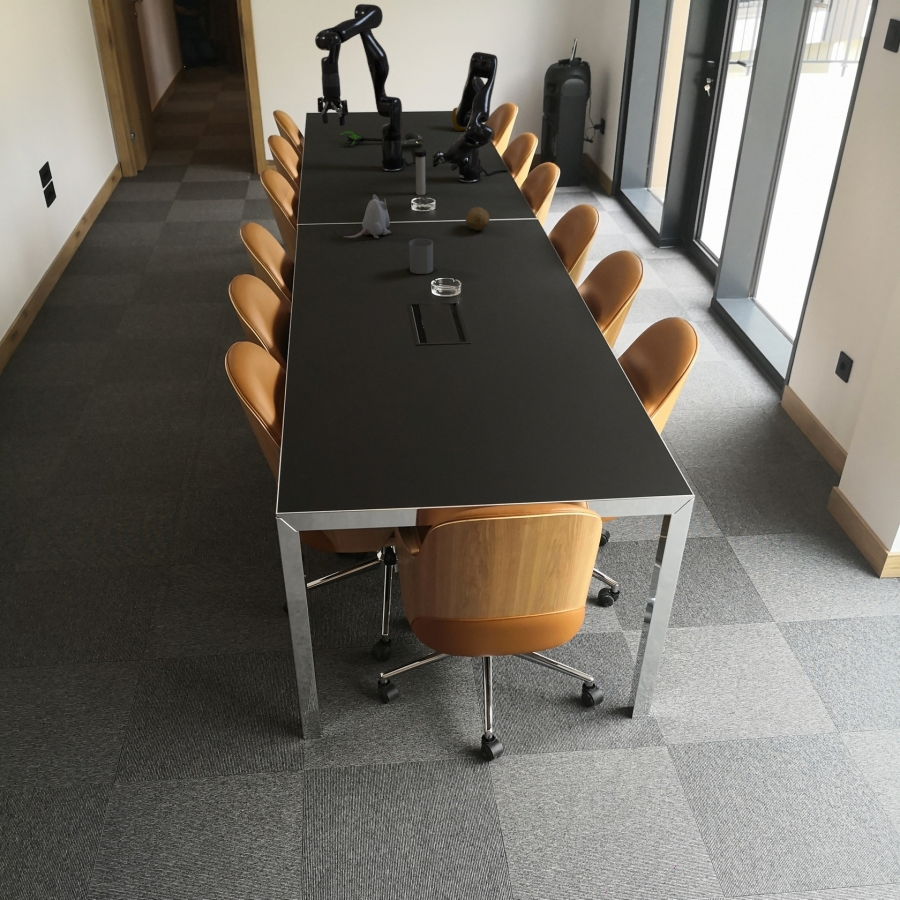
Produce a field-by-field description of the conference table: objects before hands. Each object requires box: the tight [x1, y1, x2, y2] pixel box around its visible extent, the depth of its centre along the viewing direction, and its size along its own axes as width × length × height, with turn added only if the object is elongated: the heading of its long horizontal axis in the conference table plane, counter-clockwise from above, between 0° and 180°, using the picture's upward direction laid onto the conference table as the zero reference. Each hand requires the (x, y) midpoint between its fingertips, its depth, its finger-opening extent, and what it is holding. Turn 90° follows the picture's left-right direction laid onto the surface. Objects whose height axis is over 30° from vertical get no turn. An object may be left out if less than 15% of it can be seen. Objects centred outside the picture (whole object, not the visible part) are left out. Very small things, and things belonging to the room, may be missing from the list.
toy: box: [343, 193, 392, 239], centre depth 332 cm, size 9×24×15 cm, turn 137°
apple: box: [451, 106, 467, 132], centre depth 487 cm, size 11×11×13 cm
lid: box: [413, 149, 427, 157], centre depth 378 cm, size 5×5×2 cm
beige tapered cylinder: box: [414, 155, 427, 196], centre depth 382 cm, size 4×4×18 cm
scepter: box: [337, 130, 382, 148], centre depth 462 cm, size 6×13×30 cm
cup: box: [408, 237, 434, 275], centre depth 305 cm, size 8×8×10 cm
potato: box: [465, 206, 491, 231], centre depth 344 cm, size 10×14×8 cm
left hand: (333, 124), depth 373 cm, fingers open, 8 cm apart
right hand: (442, 166), depth 368 cm, fingers open, 8 cm apart
